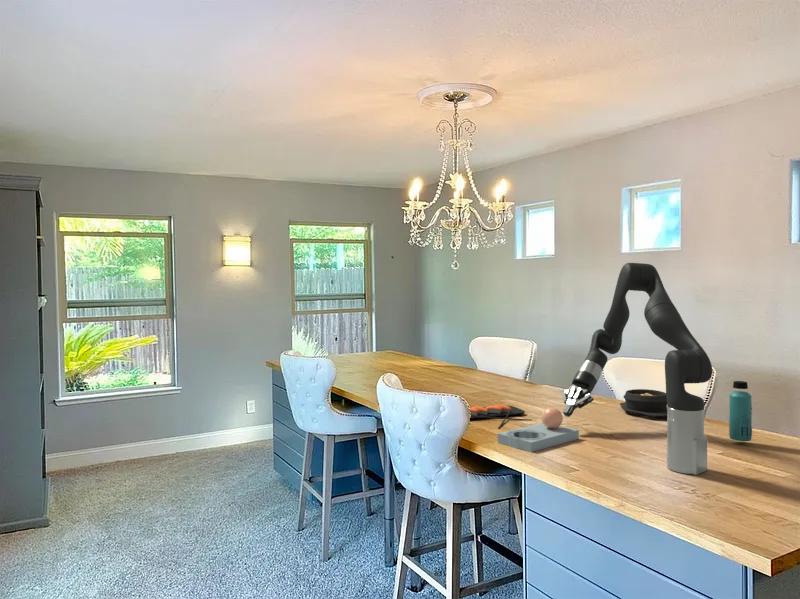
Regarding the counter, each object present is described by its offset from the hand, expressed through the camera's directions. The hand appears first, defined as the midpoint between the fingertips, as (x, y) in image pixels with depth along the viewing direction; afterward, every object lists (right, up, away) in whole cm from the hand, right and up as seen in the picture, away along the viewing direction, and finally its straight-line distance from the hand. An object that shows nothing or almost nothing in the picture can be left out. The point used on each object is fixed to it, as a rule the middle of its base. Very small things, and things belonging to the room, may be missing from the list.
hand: (566, 415), depth 204 cm
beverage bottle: (+52, -6, -14) cm, 54 cm away
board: (-12, -7, -9) cm, 16 cm away
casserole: (+40, -5, +30) cm, 50 cm away
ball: (-6, 0, -5) cm, 8 cm away
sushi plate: (-21, -7, +23) cm, 32 cm away
